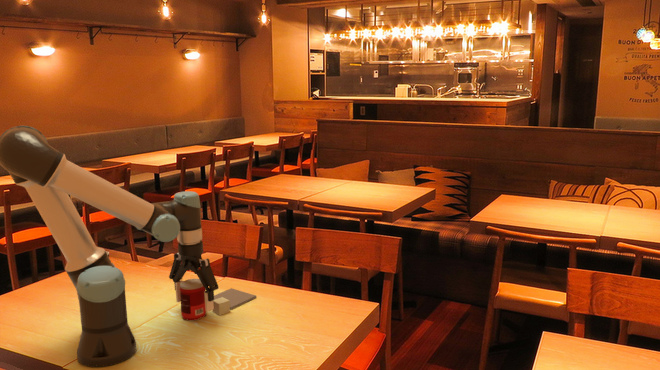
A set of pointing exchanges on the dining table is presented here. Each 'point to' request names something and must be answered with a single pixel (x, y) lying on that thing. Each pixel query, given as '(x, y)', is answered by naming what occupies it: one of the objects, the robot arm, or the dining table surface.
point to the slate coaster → (235, 297)
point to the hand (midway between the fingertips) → (194, 305)
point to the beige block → (221, 306)
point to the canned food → (192, 299)
